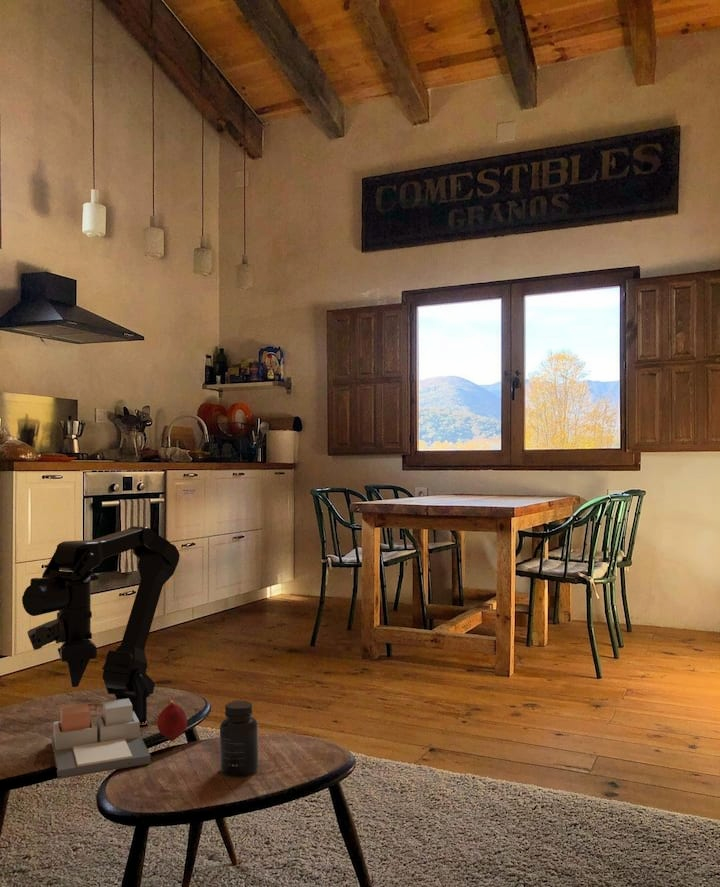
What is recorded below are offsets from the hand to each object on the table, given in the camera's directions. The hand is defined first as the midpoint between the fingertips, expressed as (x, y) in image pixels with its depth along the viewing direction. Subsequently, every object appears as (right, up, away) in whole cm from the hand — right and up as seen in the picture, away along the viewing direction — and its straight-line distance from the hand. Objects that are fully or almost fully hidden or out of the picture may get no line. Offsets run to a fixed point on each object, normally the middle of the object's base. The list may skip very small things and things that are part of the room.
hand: (75, 686), depth 153 cm
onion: (+18, -12, +4) cm, 22 cm away
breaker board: (+6, -12, -2) cm, 13 cm away
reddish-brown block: (0, -8, 0) cm, 8 cm away
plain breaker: (+7, -8, +3) cm, 12 cm away
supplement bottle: (+34, -12, -11) cm, 37 cm away
